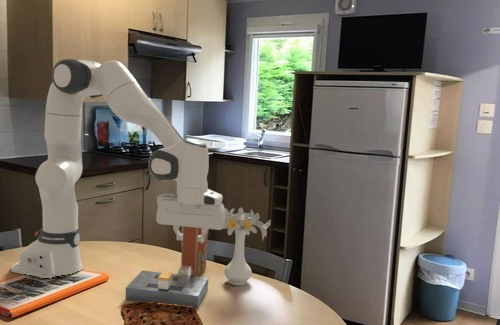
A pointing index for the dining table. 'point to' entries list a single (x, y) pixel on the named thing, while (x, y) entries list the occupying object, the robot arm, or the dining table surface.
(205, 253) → the orange retro radio
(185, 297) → the box
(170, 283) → the block
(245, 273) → the flower vase
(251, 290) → the dining table surface
